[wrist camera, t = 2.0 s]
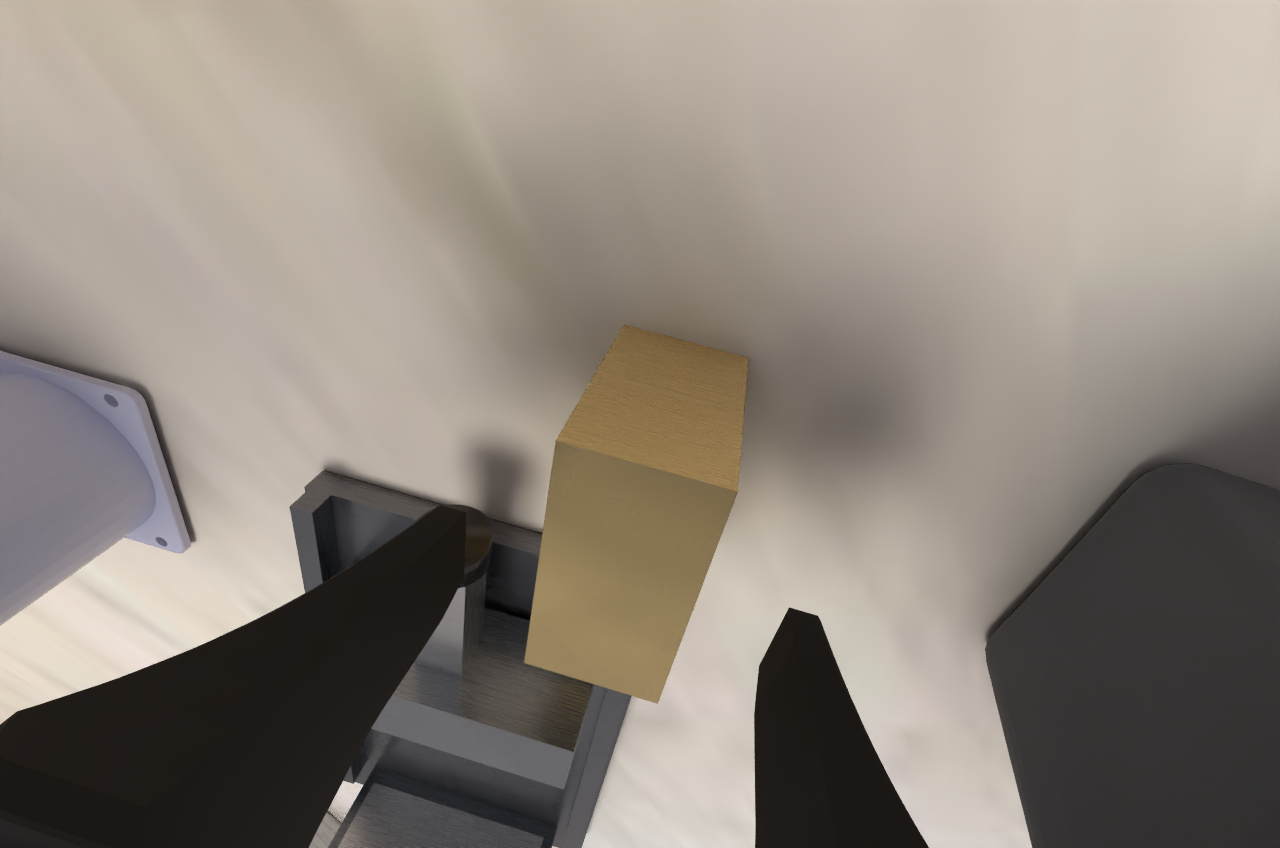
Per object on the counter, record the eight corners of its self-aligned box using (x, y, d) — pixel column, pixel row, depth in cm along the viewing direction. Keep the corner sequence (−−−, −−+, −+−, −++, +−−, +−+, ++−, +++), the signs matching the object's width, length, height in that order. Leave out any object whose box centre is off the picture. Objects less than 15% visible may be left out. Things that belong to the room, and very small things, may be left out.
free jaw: (354, 612, 23) (282, 704, 20) (334, 446, 18) (237, 528, 15) (594, 686, 22) (563, 793, 19) (634, 532, 18) (602, 638, 15)
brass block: (587, 511, 20) (524, 662, 15) (624, 324, 16) (556, 440, 11) (686, 540, 19) (657, 703, 14) (748, 357, 16) (738, 491, 11)
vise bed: (362, 762, 32) (297, 869, 28) (323, 470, 21) (205, 574, 17) (584, 833, 31) (554, 955, 27) (669, 570, 20) (641, 708, 16)
